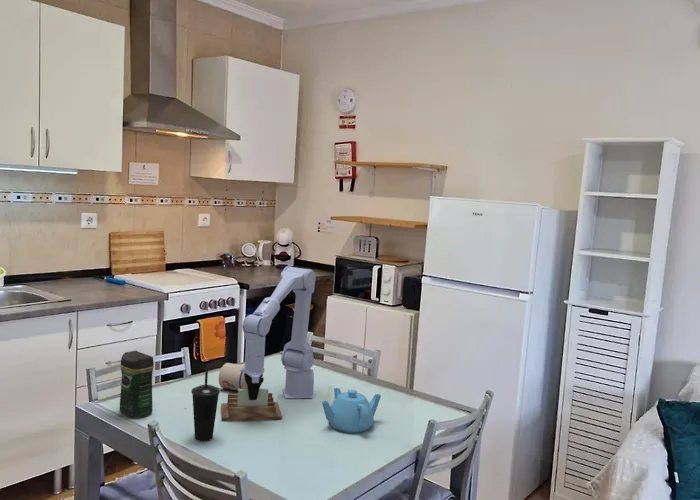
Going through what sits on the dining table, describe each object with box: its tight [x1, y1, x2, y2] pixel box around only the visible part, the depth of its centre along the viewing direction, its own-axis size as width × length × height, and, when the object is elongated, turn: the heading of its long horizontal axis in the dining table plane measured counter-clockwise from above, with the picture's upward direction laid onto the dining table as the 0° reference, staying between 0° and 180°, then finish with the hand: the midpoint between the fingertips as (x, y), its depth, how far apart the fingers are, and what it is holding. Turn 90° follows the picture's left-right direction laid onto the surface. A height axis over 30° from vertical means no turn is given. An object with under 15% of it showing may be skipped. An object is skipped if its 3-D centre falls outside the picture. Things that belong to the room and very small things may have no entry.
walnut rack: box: [220, 392, 283, 422], centre depth 185 cm, size 18×12×4 cm
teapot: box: [321, 387, 382, 434], centre depth 181 cm, size 15×15×11 cm
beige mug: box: [218, 362, 248, 392], centre depth 205 cm, size 12×9×12 cm
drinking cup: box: [190, 366, 221, 442], centre depth 165 cm, size 8×8×20 cm
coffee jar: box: [119, 350, 155, 419], centre depth 178 cm, size 10×8×19 cm
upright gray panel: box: [237, 388, 269, 407], centre depth 181 cm, size 9×2×7 cm, turn 103°
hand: (252, 398), depth 181 cm, fingers closed on upright gray panel, 2 cm apart
